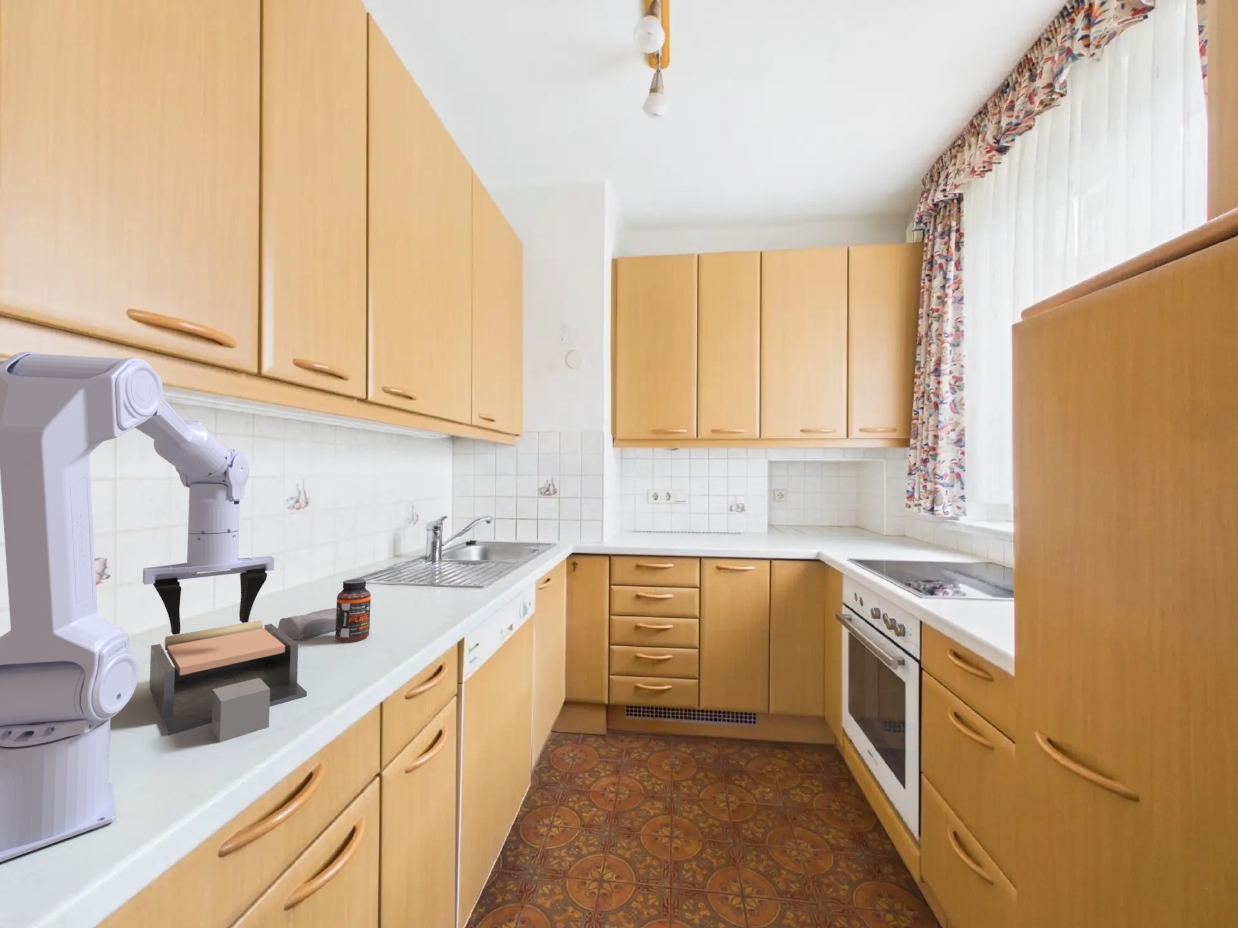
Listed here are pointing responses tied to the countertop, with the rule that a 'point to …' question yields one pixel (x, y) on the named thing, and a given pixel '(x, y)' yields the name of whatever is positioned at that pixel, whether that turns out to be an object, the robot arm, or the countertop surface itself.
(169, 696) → the trapdoor frame
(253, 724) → the grey cube
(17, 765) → the robot arm
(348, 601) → the supplement bottle
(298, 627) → the stone block
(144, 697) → the countertop surface
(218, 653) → the trapdoor
